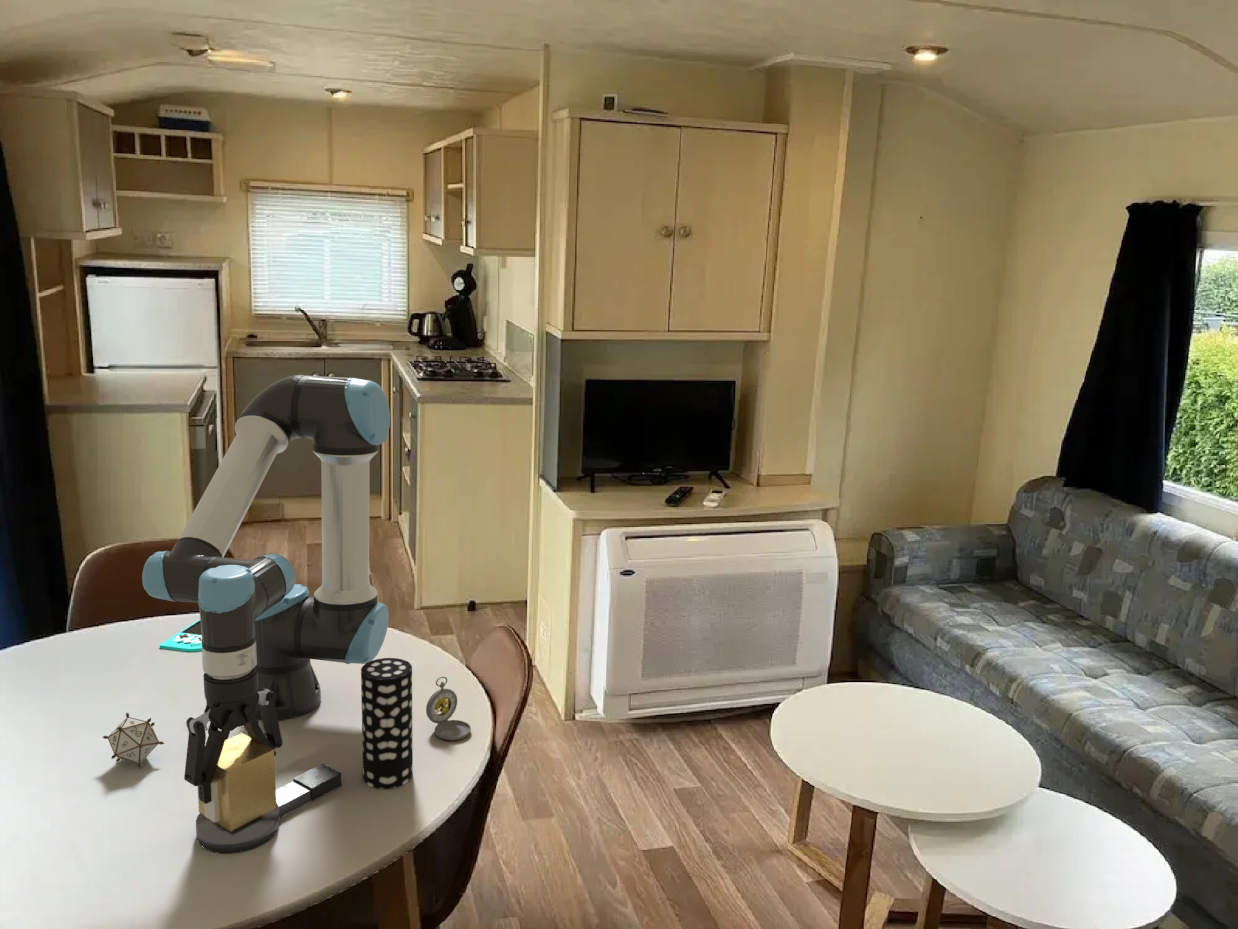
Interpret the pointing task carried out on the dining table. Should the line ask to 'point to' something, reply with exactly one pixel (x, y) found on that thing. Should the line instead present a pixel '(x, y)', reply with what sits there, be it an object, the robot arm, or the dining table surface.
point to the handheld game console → (186, 639)
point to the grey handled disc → (268, 813)
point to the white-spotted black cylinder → (387, 722)
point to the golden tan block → (244, 782)
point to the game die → (133, 740)
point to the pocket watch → (446, 714)
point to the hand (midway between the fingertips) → (237, 805)
